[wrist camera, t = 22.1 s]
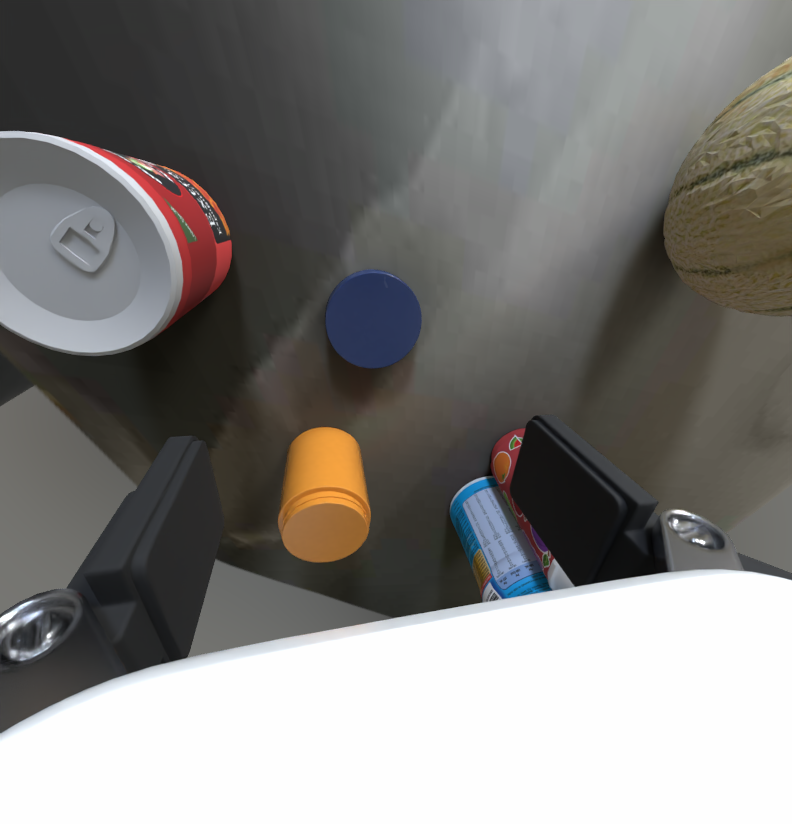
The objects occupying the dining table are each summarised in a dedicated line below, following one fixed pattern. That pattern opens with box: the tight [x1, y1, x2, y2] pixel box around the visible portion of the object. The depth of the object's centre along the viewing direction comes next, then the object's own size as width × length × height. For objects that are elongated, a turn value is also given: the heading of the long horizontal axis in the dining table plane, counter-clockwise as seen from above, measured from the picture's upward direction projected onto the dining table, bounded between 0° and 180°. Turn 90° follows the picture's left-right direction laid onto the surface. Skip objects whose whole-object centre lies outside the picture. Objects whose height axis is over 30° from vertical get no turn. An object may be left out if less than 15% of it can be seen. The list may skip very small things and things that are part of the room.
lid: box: [325, 270, 421, 368], centre depth 27 cm, size 7×7×2 cm
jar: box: [278, 427, 371, 562], centre depth 29 cm, size 7×7×9 cm
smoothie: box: [491, 428, 575, 591], centre depth 28 cm, size 8×8×20 cm
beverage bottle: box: [450, 476, 552, 603], centre depth 31 cm, size 8×8×20 cm
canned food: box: [0, 131, 232, 356], centre depth 18 cm, size 8×8×11 cm
